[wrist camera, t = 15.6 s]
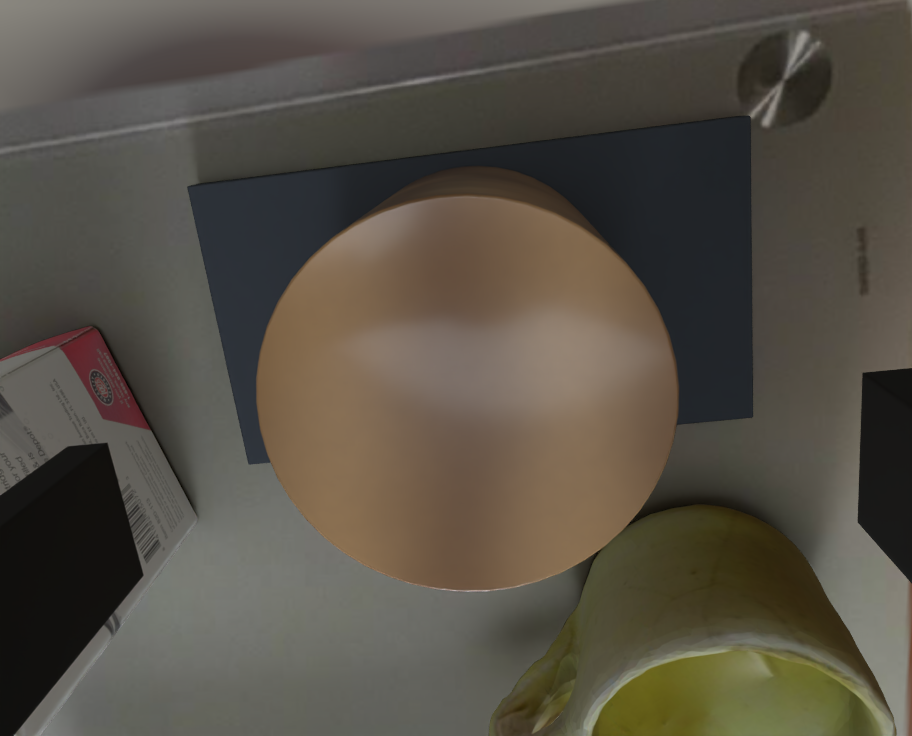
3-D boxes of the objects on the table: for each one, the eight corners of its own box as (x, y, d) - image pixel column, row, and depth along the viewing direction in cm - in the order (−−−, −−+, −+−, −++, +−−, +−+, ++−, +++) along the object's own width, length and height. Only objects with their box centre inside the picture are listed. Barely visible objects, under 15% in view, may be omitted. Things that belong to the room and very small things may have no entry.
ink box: (-14, 360, 28) (-347, 517, 17) (101, 318, 28) (-167, 452, 17) (96, 556, 31) (-134, 807, 20) (205, 521, 30) (32, 760, 19)
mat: (741, 115, 25) (751, 115, 24) (744, 408, 28) (753, 418, 27) (197, 183, 26) (186, 186, 25) (256, 453, 29) (248, 465, 28)
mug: (862, 455, 26) (951, 747, 18) (827, 639, 32) (883, 918, 24) (502, 449, 29) (446, 696, 21) (532, 617, 35) (496, 859, 27)
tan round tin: (602, 149, 24) (671, 167, 15) (619, 415, 27) (686, 577, 17) (322, 183, 25) (214, 221, 15) (365, 439, 28) (296, 607, 18)
